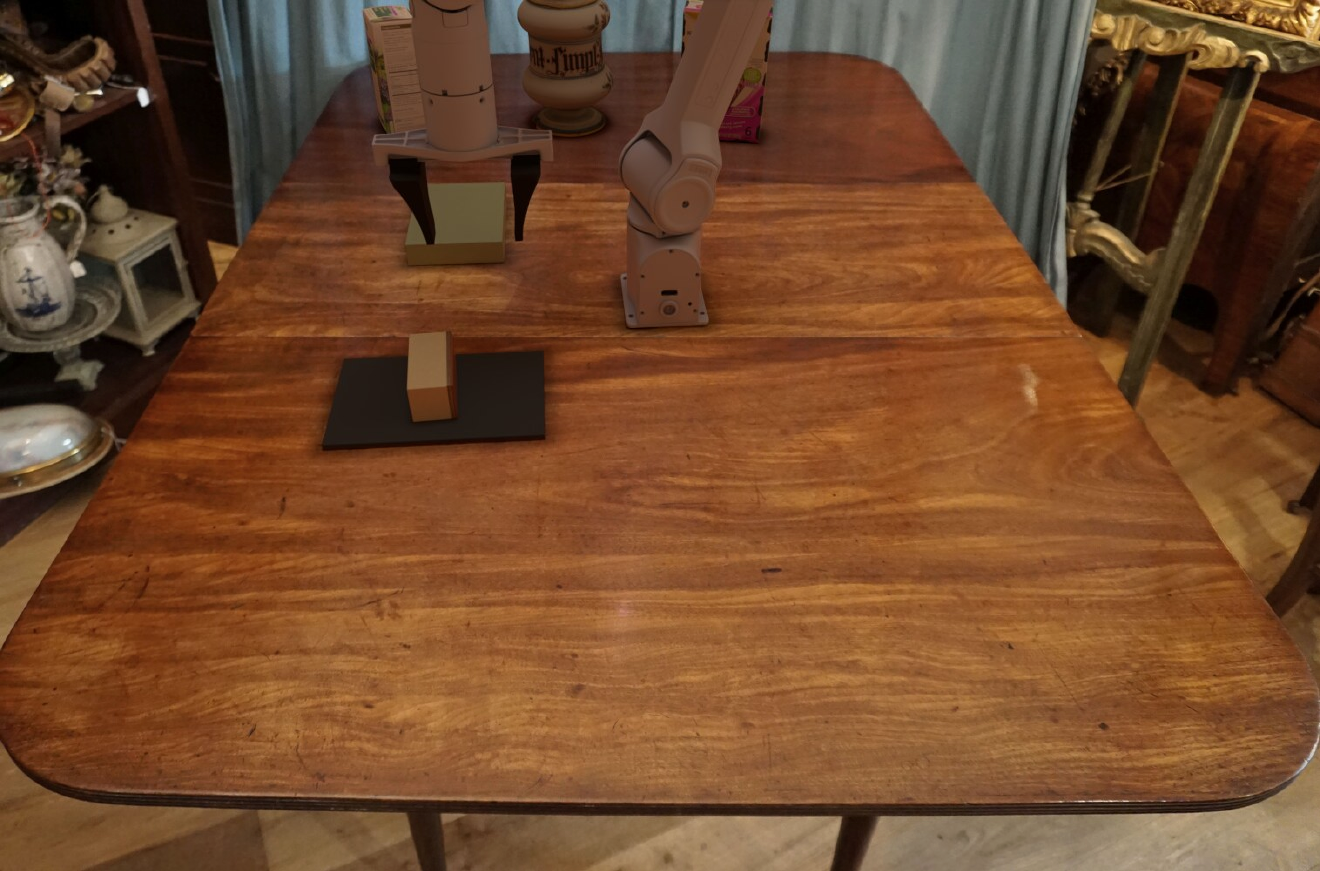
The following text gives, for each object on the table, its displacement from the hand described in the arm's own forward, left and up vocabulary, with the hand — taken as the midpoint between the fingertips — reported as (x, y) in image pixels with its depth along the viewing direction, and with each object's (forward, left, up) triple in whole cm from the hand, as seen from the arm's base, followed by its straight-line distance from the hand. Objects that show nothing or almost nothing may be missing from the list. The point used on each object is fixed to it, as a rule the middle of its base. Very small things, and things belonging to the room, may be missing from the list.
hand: (475, 237), depth 83 cm
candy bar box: (+45, -29, -10) cm, 55 cm away
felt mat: (-10, +4, -10) cm, 15 cm away
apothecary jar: (+50, -9, -10) cm, 52 cm away
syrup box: (+50, +13, -10) cm, 53 cm away
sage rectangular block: (+20, +4, -10) cm, 23 cm away
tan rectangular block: (-10, +4, -10) cm, 14 cm away
